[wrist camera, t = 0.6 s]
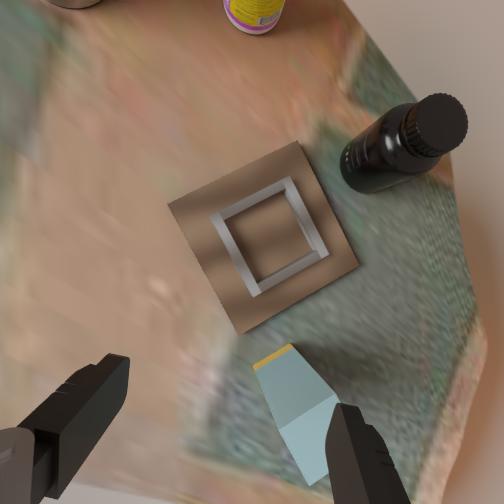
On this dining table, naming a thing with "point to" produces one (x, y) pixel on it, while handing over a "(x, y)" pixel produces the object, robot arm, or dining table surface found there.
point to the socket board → (264, 236)
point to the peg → (298, 407)
